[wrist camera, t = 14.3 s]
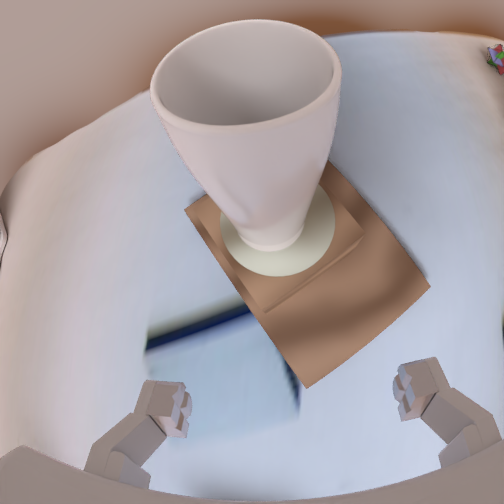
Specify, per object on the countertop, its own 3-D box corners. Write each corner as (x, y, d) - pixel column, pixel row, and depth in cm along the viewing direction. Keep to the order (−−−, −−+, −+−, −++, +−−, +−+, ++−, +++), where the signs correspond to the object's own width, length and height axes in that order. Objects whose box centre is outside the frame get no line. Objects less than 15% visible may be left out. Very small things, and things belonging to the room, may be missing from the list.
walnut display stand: (188, 214, 32) (161, 182, 25) (302, 141, 33) (303, 96, 26) (305, 386, 26) (312, 405, 18) (424, 288, 27) (462, 274, 19)
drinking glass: (221, 190, 24) (153, 40, 9) (303, 175, 23) (310, 10, 9) (232, 271, 22) (139, 160, 7) (322, 254, 21) (378, 117, 7)
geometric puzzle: (519, 82, 31) (519, 50, 26) (499, 73, 32) (499, 39, 27) (500, 77, 37) (501, 47, 32) (481, 69, 37) (480, 37, 33)
